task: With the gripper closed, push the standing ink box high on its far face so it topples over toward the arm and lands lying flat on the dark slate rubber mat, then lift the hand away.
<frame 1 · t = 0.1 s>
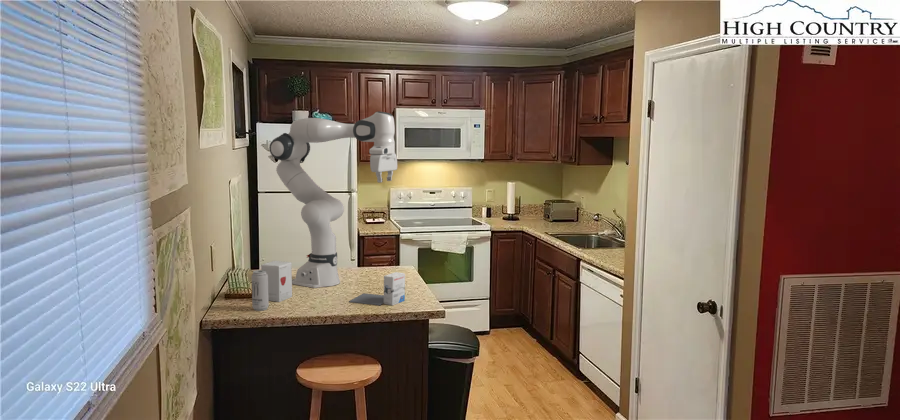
hand: (384, 181, 249), 48 cm above the counter, tool pointing down, fingers open, 8 cm apart
supplement box: (277, 298, 239), on the counter
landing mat: (371, 299, 239), on the counter
ink box: (394, 302, 235), on the counter
energy drink can: (260, 309, 224), on the counter
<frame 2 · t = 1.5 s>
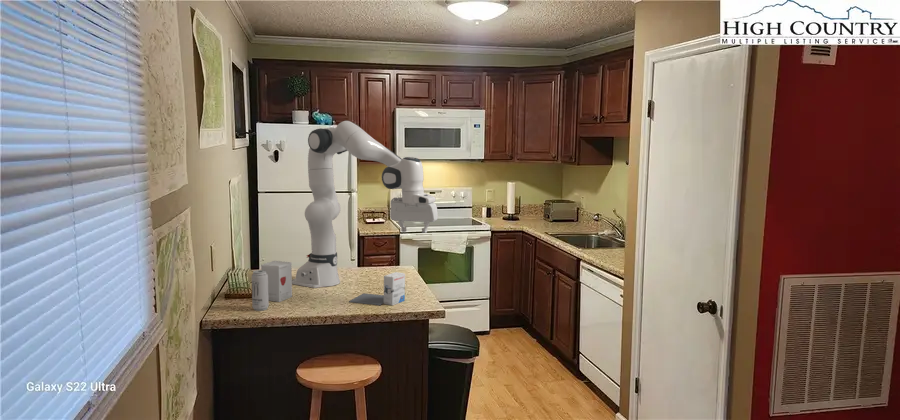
hand: (414, 232, 231), 29 cm above the counter, tool pointing down, fingers open, 8 cm apart
nothing on the counter moved.
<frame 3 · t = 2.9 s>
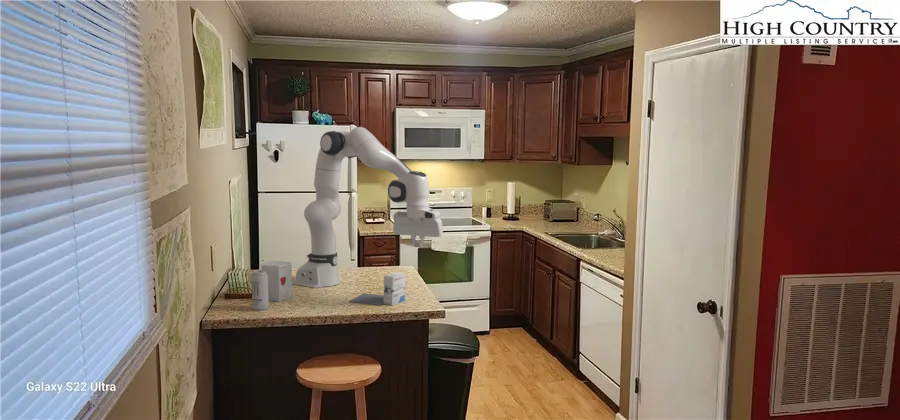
hand: (417, 246, 229), 24 cm above the counter, tool pointing down, fingers closed
nothing on the counter moved.
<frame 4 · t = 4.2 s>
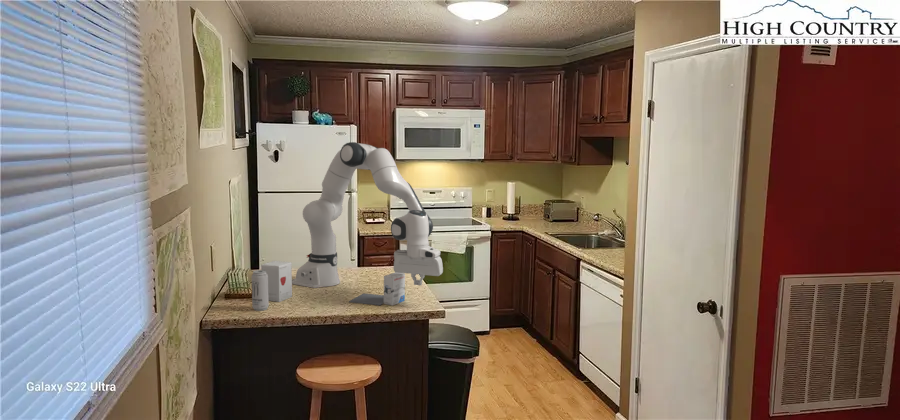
hand: (417, 284, 231), 8 cm above the counter, tool pointing down, fingers closed
nothing on the counter moved.
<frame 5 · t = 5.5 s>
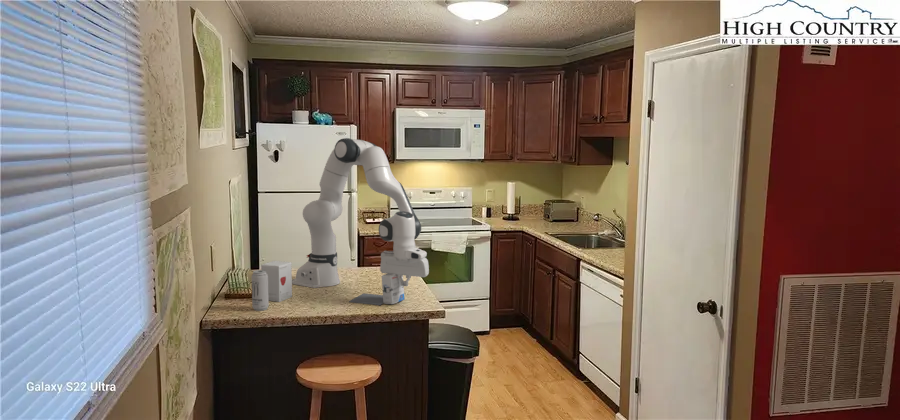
hand: (404, 285, 233), 7 cm above the counter, tool pointing down, fingers closed
ink box: (394, 302, 235), on the counter, touching gripper
everything else where it was.
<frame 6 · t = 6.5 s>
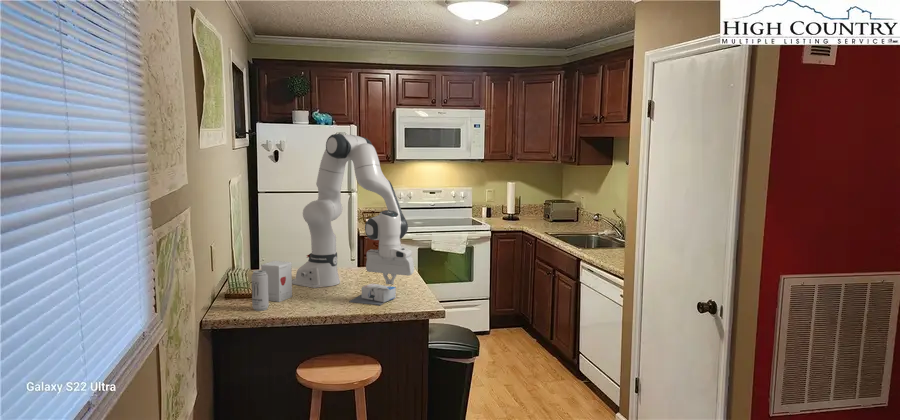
hand: (389, 284, 235), 7 cm above the counter, tool pointing down, fingers closed
ink box: (390, 294, 236), point 3 cm above the counter, touching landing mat
everything else where it was.
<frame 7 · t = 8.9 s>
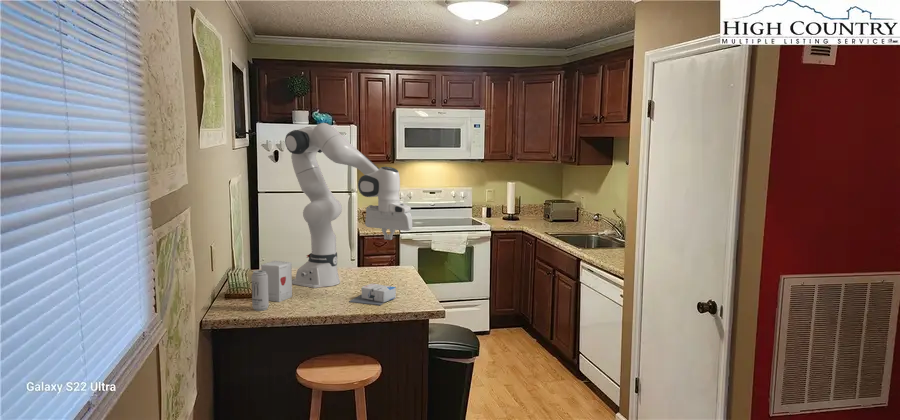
hand: (388, 239, 239), 25 cm above the counter, tool pointing down, fingers closed
nothing on the counter moved.
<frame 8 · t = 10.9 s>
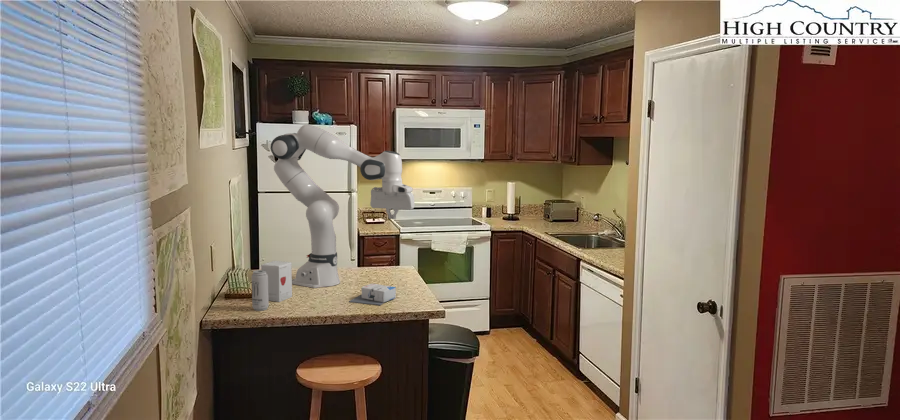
hand: (392, 218, 256), 31 cm above the counter, tool pointing down, fingers closed
nothing on the counter moved.
at the end: ink box tilted 91°; ink box touching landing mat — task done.
